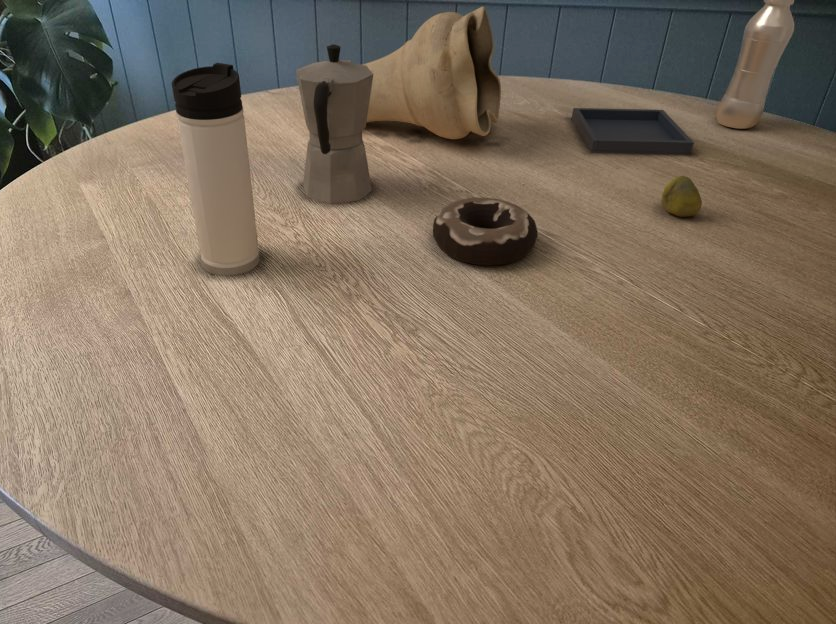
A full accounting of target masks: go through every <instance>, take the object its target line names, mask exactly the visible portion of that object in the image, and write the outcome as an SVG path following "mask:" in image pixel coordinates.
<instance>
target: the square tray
mask: <svg viewBox="0 0 836 624" xmlns="http://www.w3.org/2000/svg"><path fill="white" fill-rule="evenodd" d="M570 119H571V122H572V123H573V125H574V127H575V128H576V130H577V132H578V134H579V136H580V137H581V139H582V141H583V142H584V144H585V145H586V147H587V149H588V151H589V152H590V154H618V155H619V154H621V155H622V154H623V155H624V154H625V155H627V154H628V155H665V156H666V155H670V156H676V155H677V156H691V154H692V150H693V147H694V145H695V142H694V141H693V140H692V139H691V137H689V135H688V134H686V132H685V131H684V130H683V129H682V128H681V127H680V126H679V125H678V123H676V122H675V121H674V119H672V118H671V117H670V115H669V114H668V113H667V112H666V111H665V110H664V109H646V108H645V109H643V108H641V109H640V108H597V107H595V108H593V107H592V108H591V107H573V108H572V114H571V118H570Z"/></svg>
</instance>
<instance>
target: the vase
mask: <svg viewBox="0 0 836 624" xmlns="http://www.w3.org/2000/svg"><path fill="white" fill-rule="evenodd" d="M494 52H495V40H494V36H493V31H492V26H491V22H490V19H489V15H488V11H487V9H486V7H485V6H479V7H478V8H477V9H474V10H473V11H471V12H468V13H466V14H465V15H462V14H460V13H458V12H456V11H455V12H454V11H446V12H440V13H437V14H435V15H433V16H431V17H429V18H428V19H427V20H425V22H424V23H423V24H422V25H421V26H419V28H418V29H417V30H416V32H415V33H414V34H413V36H412V38H411V39H408V40H407V41H406V42H405V43H404V44H403V45H402V46H401V47H400V48H398V49H396V50H395V51H393V52H391V53H389V54H387V55H385V56H383V57H381V58H378V59H375V60H372V61H369V62H367V63H366V62H365V63H363V64H362V65H365V66H367V67H368V68H369V69H370V71H371V72H372V73H373V74H374V75H373V81H372V88H371V95H370V102H369V108H368V115H367V122H366V123H372V122H401V123H409V124H412V125H416V126H418V127H423V128H425V129H426V130H427V131H429V132H430V133H432V134H434V135H436V136H438V137H440V138H444V139H449V140H460V139H463V138H465V137H467V136H468V135H469V134H470V132H472V133H474V134H476V135H478V136H482V137H485V136H487V135H489V134H490V132H491V127H492V123H497V122H498V121H499V116H500V108H501V97H502V84H501V79H500V77H499V75H498V74H497V72H496V71H495V70H494V69H493V67H492V59H493V56H494Z"/></svg>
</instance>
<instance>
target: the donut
mask: <svg viewBox="0 0 836 624" xmlns="http://www.w3.org/2000/svg"><path fill="white" fill-rule="evenodd" d="M432 236H433V238H434V240H435V242H436V244H437V246H438V247H439V249H441V250H442V252H444V253H445V254H447V255H448V256H449V257H451V258H454V259H455V260H458V261H460V262H463V263H467V264H471V265H478V266H486V267H487V266H501V265H507V264H512V263H514V262H516V261H519V260H521V259H523V258H524V257H525V256H526V255H528V254H529V253H530V252H532V249H533V248H534V246H535V244H536V241H537V238H538V228H537V224H536V221H535V219H534V218H533V217H532V216H531V214H530V213H529V212H528V211H527V210H526V209H524V208H522V207H521V206H520V205H517V204H515V203H513V202H510V201H508V200H503V199H500V198H495V197H494V198H493V197H468V198H463V199H459V200H456V201H453V202H450V203H449V204H447V205H445V206H444V207H443V208H442V209H440V210H439V212H438V213H437V215H436V216H435V218H434V219H433V223H432Z"/></svg>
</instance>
